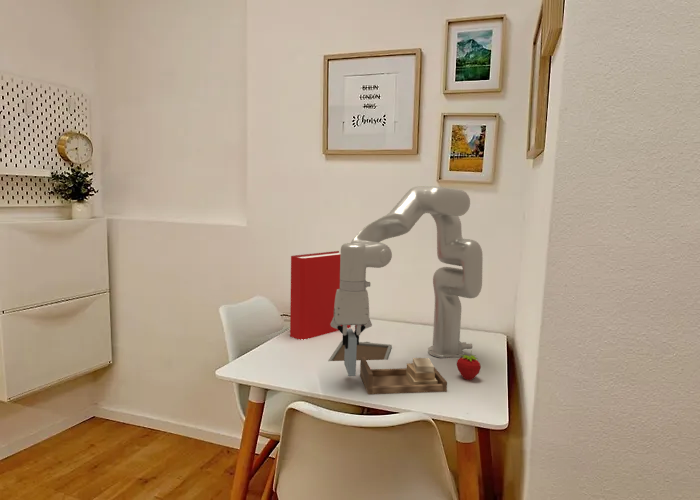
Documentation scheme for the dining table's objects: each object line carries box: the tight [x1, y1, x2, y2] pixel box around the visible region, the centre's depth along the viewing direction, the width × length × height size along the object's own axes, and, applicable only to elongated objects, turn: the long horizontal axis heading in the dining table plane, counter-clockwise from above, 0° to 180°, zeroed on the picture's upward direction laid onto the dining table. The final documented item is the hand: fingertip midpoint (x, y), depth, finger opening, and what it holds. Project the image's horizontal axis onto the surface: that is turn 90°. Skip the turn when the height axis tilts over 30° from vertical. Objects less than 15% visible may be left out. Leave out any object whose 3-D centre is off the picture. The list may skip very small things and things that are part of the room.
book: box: [289, 250, 352, 341], centre depth 196 cm, size 27×8×32 cm, turn 136°
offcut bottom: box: [406, 371, 438, 385], centre depth 145 cm, size 7×9×2 cm
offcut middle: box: [406, 362, 435, 381], centre depth 145 cm, size 6×8×2 cm
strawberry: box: [456, 349, 482, 381], centre depth 149 cm, size 6×8×10 cm
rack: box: [359, 357, 448, 395], centre depth 144 cm, size 23×14×7 cm, turn 98°
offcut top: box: [412, 357, 435, 373], centre depth 144 cm, size 5×7×2 cm
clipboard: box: [327, 339, 393, 362], centre depth 170 cm, size 19×2×30 cm
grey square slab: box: [343, 328, 357, 377], centre depth 142 cm, size 2×10×11 cm, turn 8°
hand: (350, 346), depth 142 cm, fingers closed on grey square slab, 2 cm apart
